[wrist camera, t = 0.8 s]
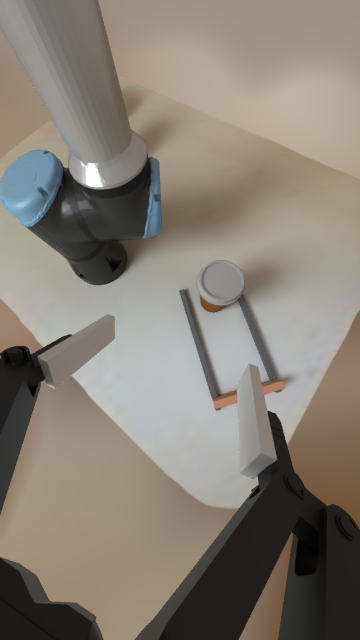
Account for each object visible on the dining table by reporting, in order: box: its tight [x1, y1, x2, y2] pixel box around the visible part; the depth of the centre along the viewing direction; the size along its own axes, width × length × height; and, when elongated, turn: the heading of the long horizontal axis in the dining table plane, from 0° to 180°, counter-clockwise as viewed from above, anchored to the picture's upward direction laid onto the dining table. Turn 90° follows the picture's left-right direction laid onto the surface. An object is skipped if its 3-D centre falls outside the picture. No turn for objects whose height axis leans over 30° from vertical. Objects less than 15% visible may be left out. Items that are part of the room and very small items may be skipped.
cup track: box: [180, 289, 285, 411], centre depth 39 cm, size 30×15×3 cm, turn 16°
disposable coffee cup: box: [197, 260, 245, 312], centre depth 37 cm, size 10×10×12 cm
